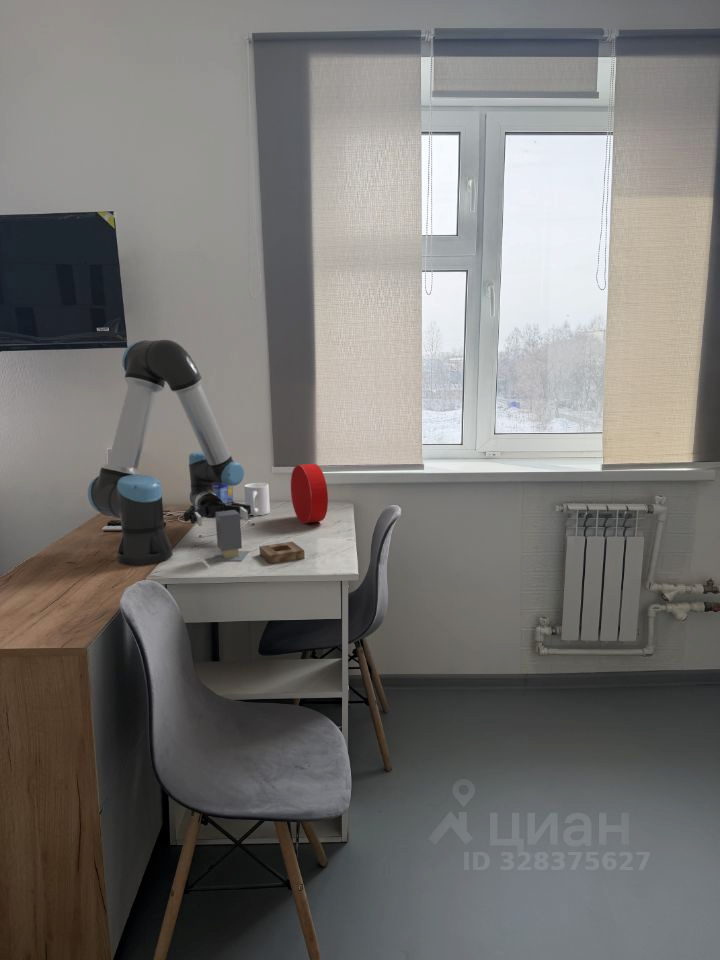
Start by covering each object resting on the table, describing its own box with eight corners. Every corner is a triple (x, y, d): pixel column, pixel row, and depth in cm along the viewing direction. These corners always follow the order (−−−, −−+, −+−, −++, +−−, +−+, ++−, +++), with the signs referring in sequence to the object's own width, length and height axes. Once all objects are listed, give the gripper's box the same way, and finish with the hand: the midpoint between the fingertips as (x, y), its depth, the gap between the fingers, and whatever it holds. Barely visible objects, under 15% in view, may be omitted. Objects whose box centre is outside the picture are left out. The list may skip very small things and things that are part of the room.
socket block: (270, 565, 182) (269, 555, 181) (259, 556, 191) (259, 546, 190) (304, 560, 186) (304, 550, 185) (292, 551, 195) (292, 541, 194)
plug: (222, 559, 186) (219, 516, 184) (218, 554, 191) (215, 512, 189) (242, 556, 188) (239, 513, 186) (237, 551, 193) (234, 509, 191)
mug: (241, 519, 236) (240, 489, 234) (248, 511, 247) (247, 482, 245) (265, 518, 235) (264, 489, 233) (271, 510, 247) (270, 482, 245)
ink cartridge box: (222, 516, 240) (219, 477, 237) (208, 515, 242) (205, 476, 239) (234, 510, 249) (232, 472, 247) (221, 509, 251) (219, 471, 248)
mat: (210, 562, 186) (209, 560, 186) (219, 553, 195) (219, 550, 195) (241, 563, 185) (241, 560, 185) (249, 553, 194) (249, 550, 194)
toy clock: (328, 527, 222) (326, 467, 218) (312, 529, 219) (310, 469, 216) (307, 514, 240) (305, 459, 236) (291, 516, 237) (289, 461, 233)
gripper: (247, 511, 219) (265, 525, 200) (170, 520, 209) (181, 536, 190) (246, 489, 218) (264, 501, 199) (168, 497, 208) (179, 511, 189)
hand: (223, 518), depth 194 cm, fingers open, 13 cm apart
